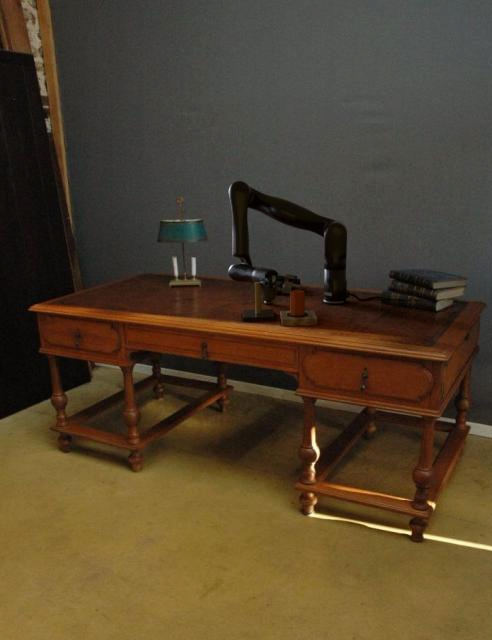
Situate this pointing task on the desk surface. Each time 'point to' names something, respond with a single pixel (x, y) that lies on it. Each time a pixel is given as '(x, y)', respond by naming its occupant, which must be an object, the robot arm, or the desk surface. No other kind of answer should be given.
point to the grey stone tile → (298, 319)
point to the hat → (297, 304)
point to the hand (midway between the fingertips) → (291, 283)
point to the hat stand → (258, 309)
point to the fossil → (289, 288)
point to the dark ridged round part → (268, 295)
